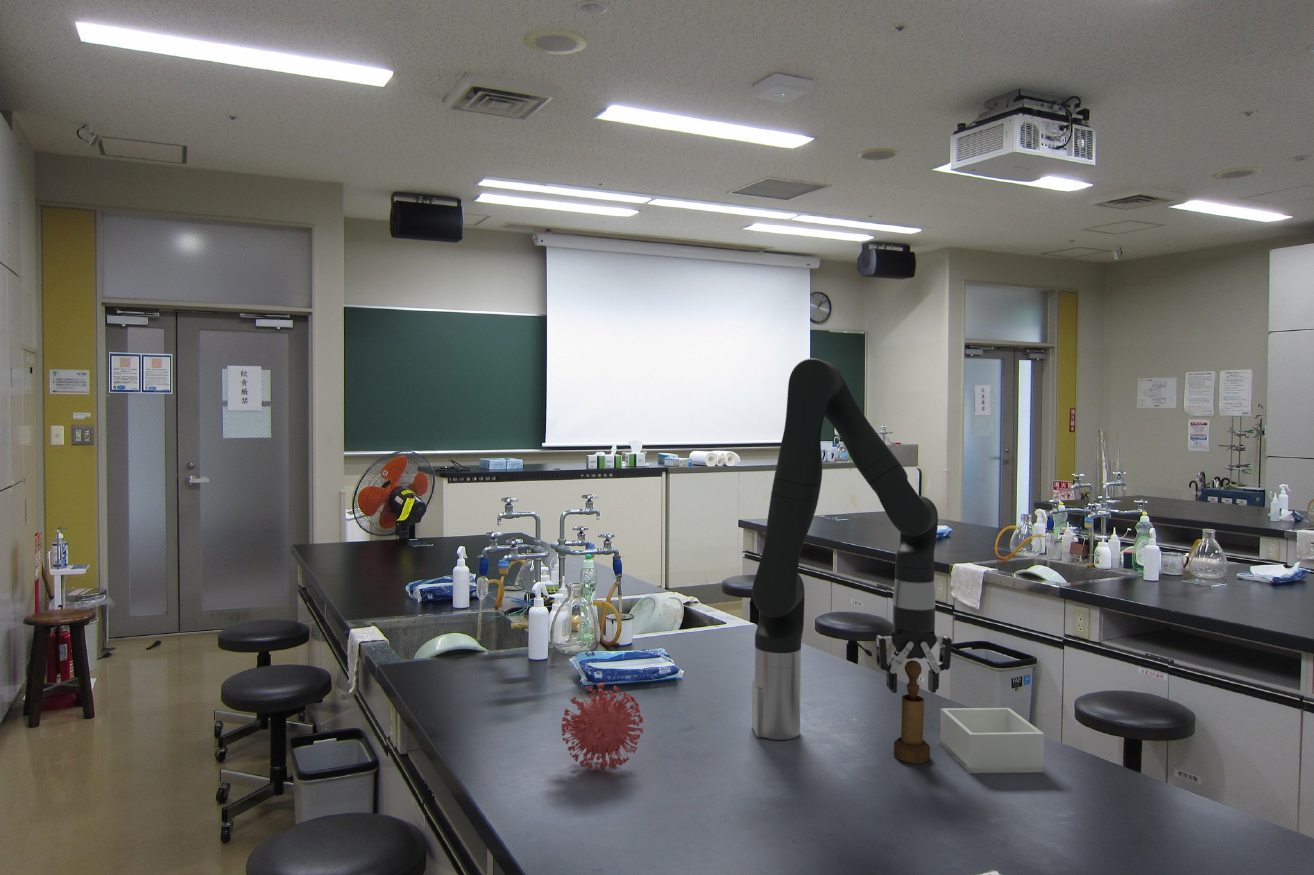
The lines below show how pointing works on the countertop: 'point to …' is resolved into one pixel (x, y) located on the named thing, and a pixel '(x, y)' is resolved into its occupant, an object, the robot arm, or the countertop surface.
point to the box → (991, 740)
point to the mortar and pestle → (912, 721)
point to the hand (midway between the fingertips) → (912, 691)
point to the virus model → (603, 727)
